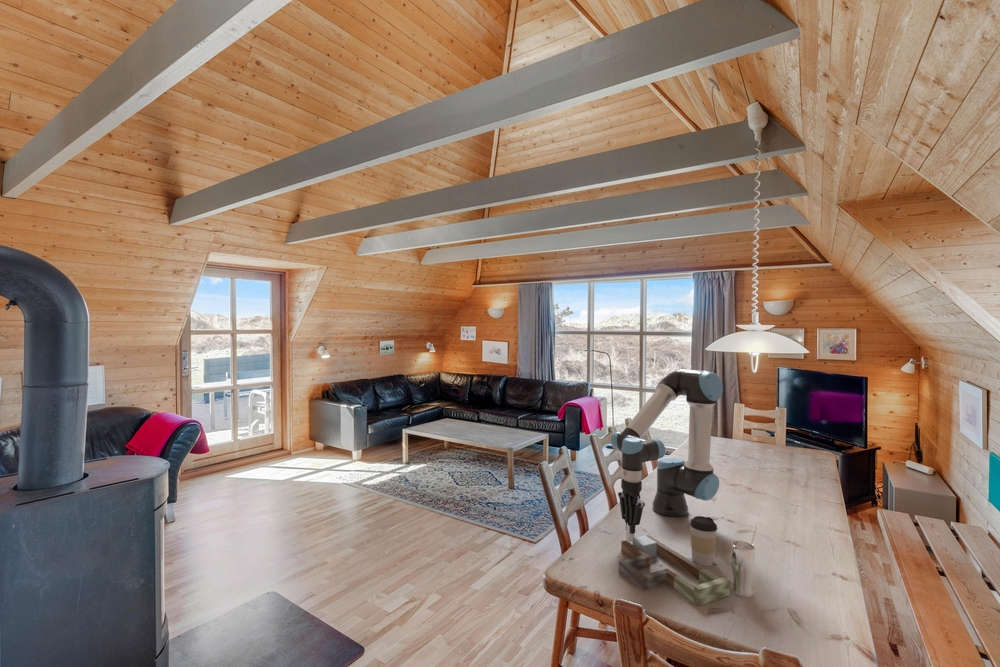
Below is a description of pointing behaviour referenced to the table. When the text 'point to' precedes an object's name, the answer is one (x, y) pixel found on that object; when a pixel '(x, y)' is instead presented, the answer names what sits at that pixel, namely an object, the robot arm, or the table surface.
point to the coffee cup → (703, 539)
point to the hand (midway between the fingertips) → (630, 540)
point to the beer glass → (742, 567)
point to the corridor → (672, 574)
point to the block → (645, 545)
